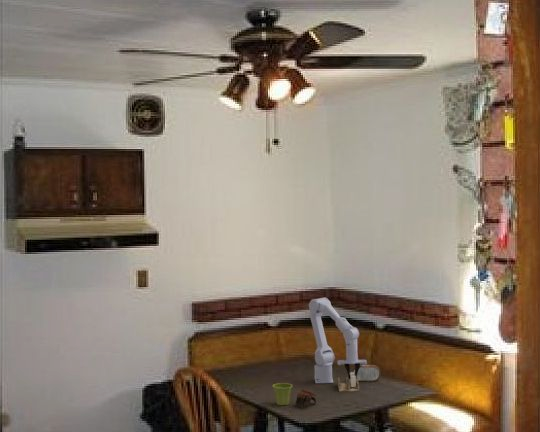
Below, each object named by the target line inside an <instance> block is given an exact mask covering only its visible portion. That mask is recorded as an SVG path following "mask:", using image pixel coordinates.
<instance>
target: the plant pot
mask: <svg viewBox="0 0 540 432" xmlns="http://www.w3.org/2000/svg"><path fill="white" fill-rule="evenodd" d="M272 388H273V391H274V397H275V401H276V402H275V403H276V405H277V406H287V405H289V404H290V401H291V400H290V399H291V391H292V388H293V384H291V383H287V382H279V383H274V384H272Z"/></svg>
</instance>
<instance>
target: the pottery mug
mask: <svg viewBox="0 0 540 432" xmlns="http://www.w3.org/2000/svg"><path fill="white" fill-rule="evenodd" d="M316 396H317V395H316V394H315V393H313V392H312V391H310V390H306V389H301V391H299V393H297V395H296V400H295V407H299V408H301V409H303V408H304V406H305V408H306V407H309V406H310V403H311V401H313V405H316V404H317V398H316Z"/></svg>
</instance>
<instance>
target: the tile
mask: <svg viewBox="0 0 540 432" xmlns="http://www.w3.org/2000/svg"><path fill="white" fill-rule="evenodd" d="M348 379H349V378H348ZM349 382H350V385H351V387H356V376H355V373H354V372H352V371H350V379H349Z"/></svg>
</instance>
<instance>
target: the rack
mask: <svg viewBox="0 0 540 432" xmlns="http://www.w3.org/2000/svg"><path fill="white" fill-rule="evenodd" d="M359 382H360V381H358V379H356V387H351V385H350V381H349V377H348V376H347V377H346V383H345V382H341V379H340V377H337V387H338V390H339V392H360V383H359Z"/></svg>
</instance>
